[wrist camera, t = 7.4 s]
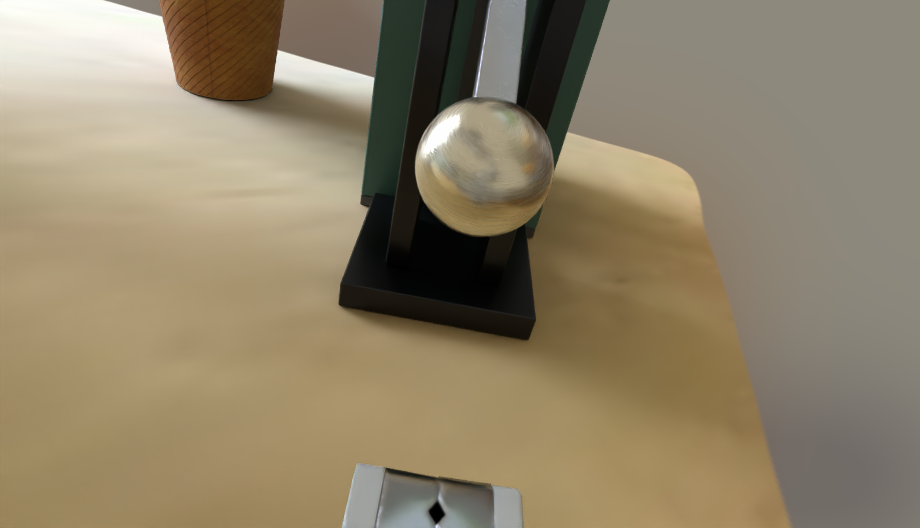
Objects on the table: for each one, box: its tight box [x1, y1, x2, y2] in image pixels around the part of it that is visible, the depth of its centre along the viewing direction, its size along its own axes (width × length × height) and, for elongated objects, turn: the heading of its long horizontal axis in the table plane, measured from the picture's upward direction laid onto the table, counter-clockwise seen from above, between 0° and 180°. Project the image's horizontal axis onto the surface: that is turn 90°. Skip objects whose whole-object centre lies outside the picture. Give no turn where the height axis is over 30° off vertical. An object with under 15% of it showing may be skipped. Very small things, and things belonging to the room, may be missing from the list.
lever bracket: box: [339, 0, 586, 340], centre depth 22 cm, size 8×8×16 cm
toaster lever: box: [415, 0, 554, 237], centre depth 16 cm, size 13×3×3 cm, turn 177°
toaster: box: [360, 0, 610, 238], centre depth 30 cm, size 10×10×14 cm
